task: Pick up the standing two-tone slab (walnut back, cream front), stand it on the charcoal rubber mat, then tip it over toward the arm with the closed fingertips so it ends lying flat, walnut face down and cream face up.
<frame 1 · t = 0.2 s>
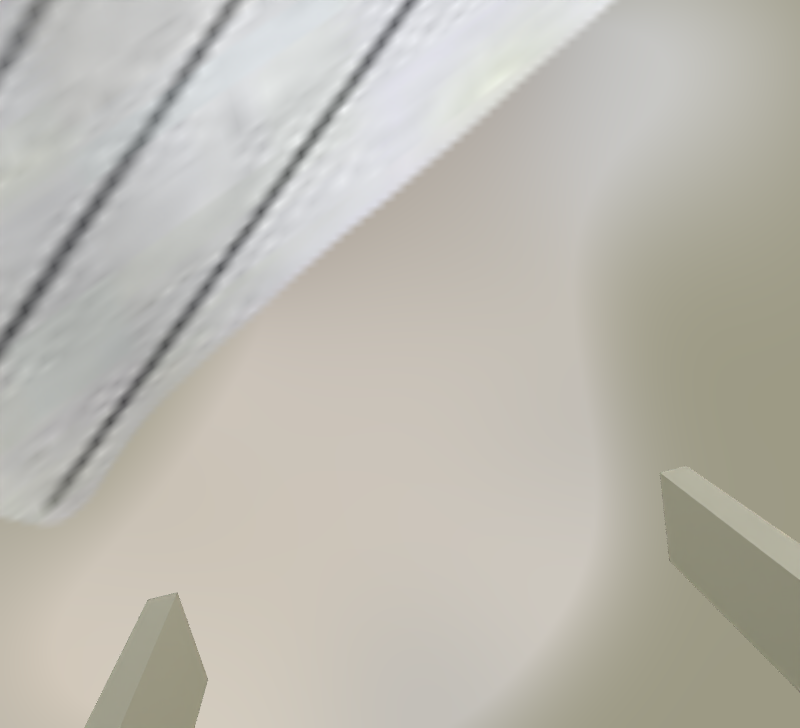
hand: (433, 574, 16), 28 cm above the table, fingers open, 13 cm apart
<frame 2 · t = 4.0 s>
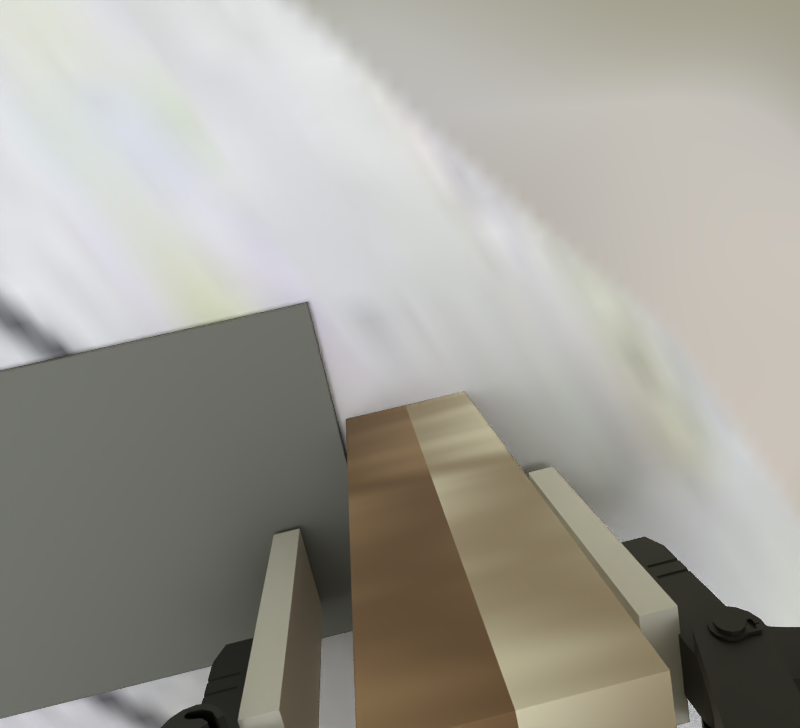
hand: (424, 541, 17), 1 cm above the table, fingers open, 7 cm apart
mat: (92, 530, 17), on the table
slab: (432, 527, 18), on the table
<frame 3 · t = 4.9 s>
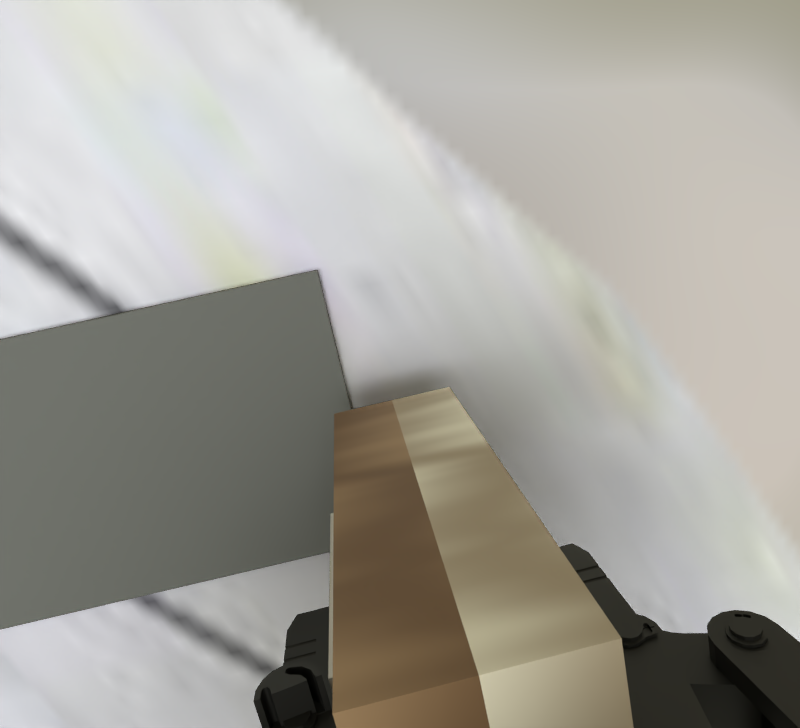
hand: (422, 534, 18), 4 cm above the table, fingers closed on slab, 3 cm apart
mat: (140, 458, 21), on the table
slab: (418, 519, 19), point 3 cm above the table, touching gripper
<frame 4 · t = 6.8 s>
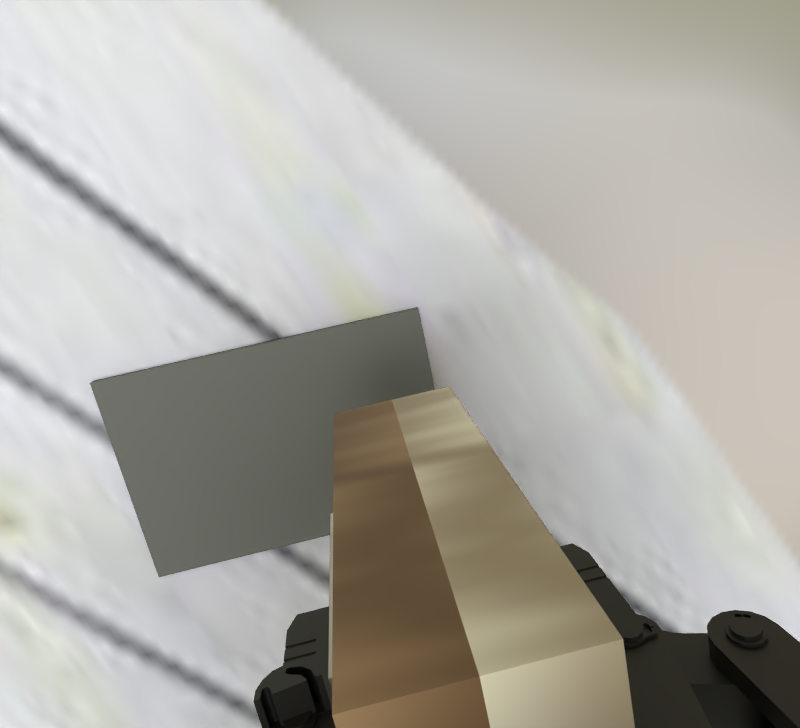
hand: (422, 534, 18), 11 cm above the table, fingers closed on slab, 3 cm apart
mat: (285, 443, 28), on the table
slab: (418, 518, 19), point 10 cm above the table, touching gripper
when the fingers open (1 cm above the table, at t = 8.7 s): slab stays where it is, resting on mat.
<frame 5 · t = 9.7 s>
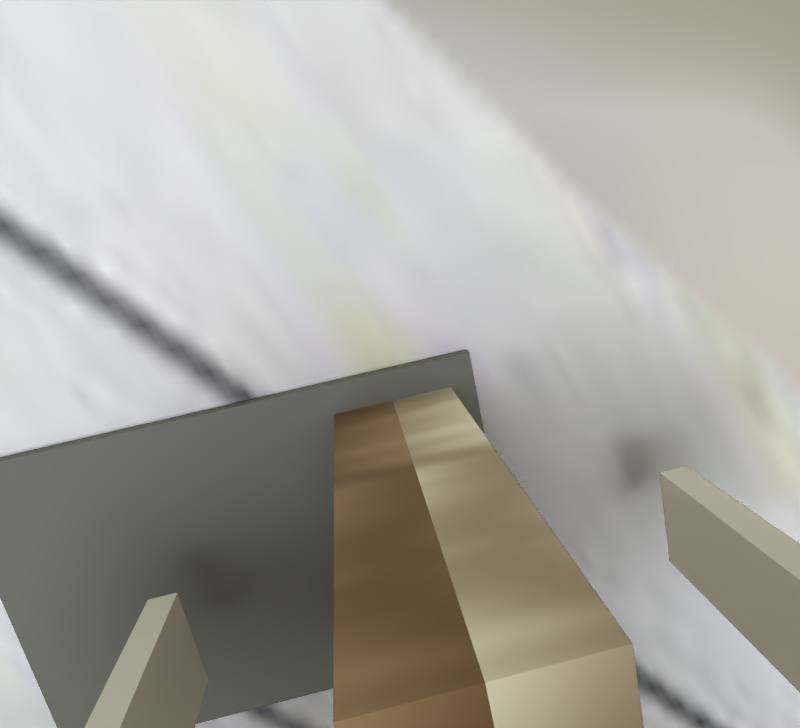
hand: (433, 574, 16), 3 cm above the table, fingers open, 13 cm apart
mat: (261, 556, 18), on the table
slab: (419, 521, 18), resting on mat
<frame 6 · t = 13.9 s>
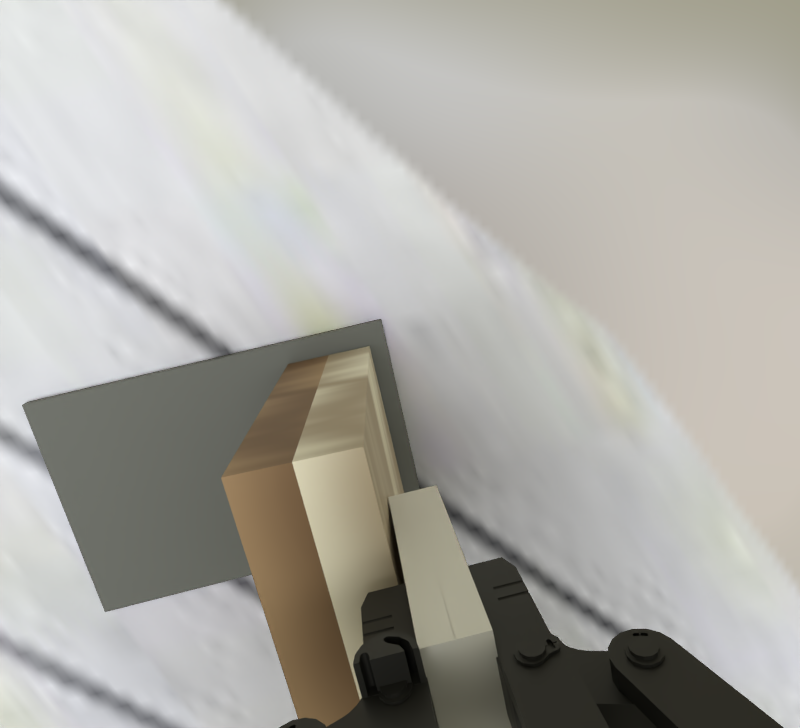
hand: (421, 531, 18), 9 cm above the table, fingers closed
mat: (239, 467, 26), on the table
slab: (350, 442, 26), point 1 cm above the table, touching mat
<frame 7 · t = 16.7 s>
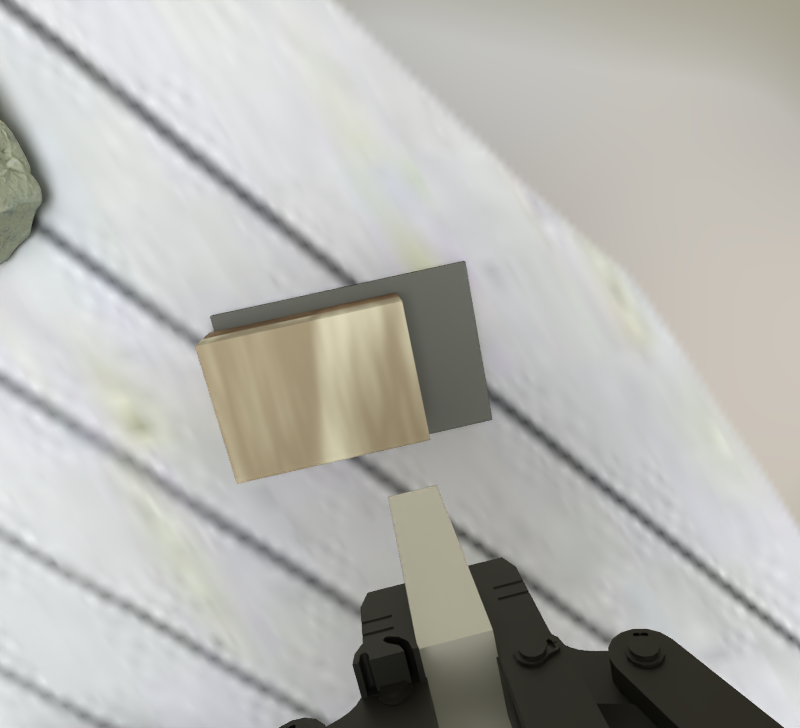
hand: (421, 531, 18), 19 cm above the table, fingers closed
mat: (357, 368, 36), on the table
slab: (412, 364, 34), point 2 cm above the table, tilted 90°, touching mat
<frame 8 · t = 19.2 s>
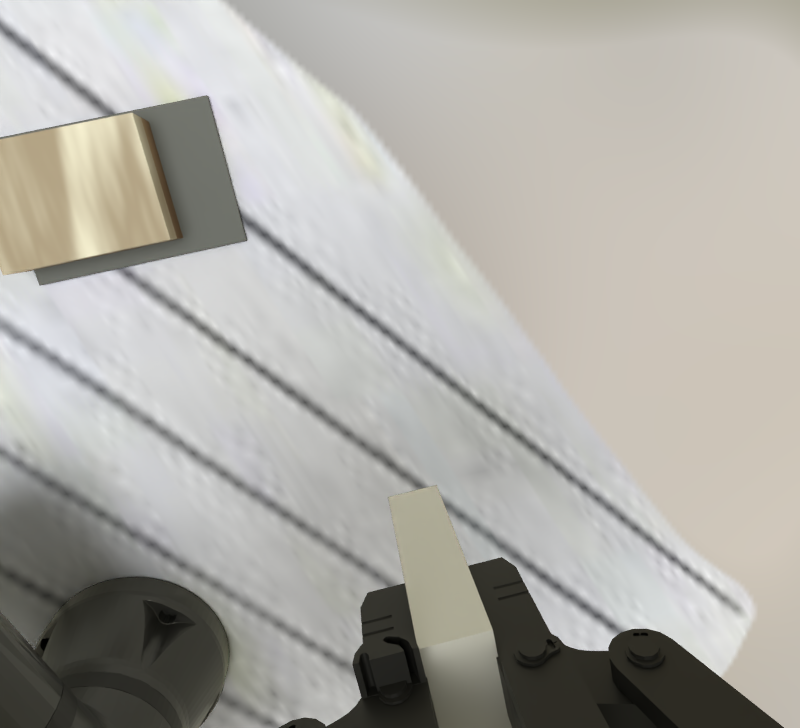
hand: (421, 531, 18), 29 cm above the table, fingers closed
mat: (123, 192, 42), on the table
slab: (159, 179, 40), point 2 cm above the table, tilted 90°, touching mat
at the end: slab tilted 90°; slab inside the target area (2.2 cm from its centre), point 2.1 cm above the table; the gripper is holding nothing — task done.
